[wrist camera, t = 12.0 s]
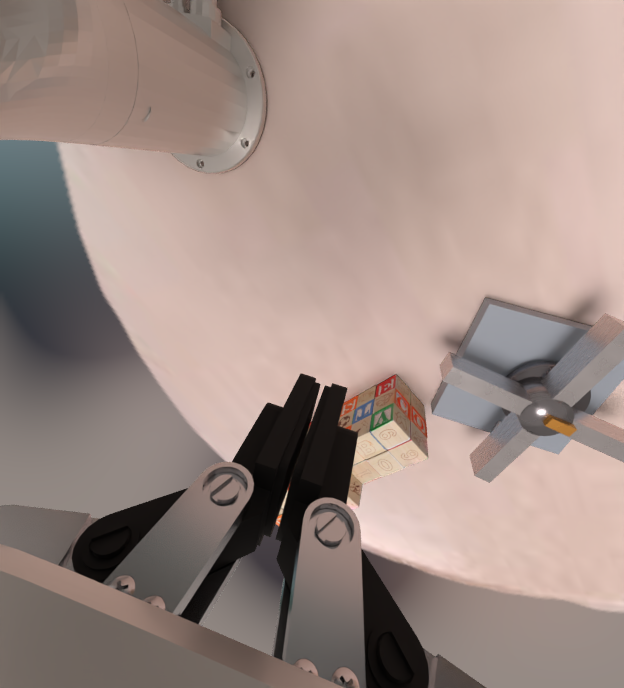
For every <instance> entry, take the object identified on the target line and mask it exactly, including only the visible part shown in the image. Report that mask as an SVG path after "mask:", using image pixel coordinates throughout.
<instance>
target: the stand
mask: <svg viewBox="0 0 624 688" xmlns="http://www.w3.org/2000/svg"><path fill="white" fill-rule="evenodd" d="M592 327H593V326H589V325H585V324H582V323H578V322H574V321H570V320H567V319H563V318H559V317H556V316H552V315H548V314H545V313H541V312H537V311H534V310H530V309H526V308H522V307H519V306H515V305H511V304H508V303H504V302H500V301H497V300H493V299H489V298H485V299H484V301H483V303H482V305H481V307H480V309H479V311H478V313H477V315H476V317H475V319H474V321H473V323H472V325H471V327H470V329H469V331H468V332H467V334H466V336H465V338H464V340H463V342H462V344H461V346H460V348H459V350H458V352H457V354H456V355H457V356H460V357H462V358H464V359H466V360H469V361H471V362H473V363H475V364H478V365H480V366H482V367H484V368H487V369H489V370H491V371H493V372H496V373H498V374H500V375H502V376H505V377H506V376H507V375H508V374H509V373H510V372H512V371H513V370H515V369H516V368H518V367H520V366H522V365H525V364H528V363H531V362H536V361H556V362H559V361H560V360H561V359H562V358H563V357H564V356H565V355H566V354H567V353H568V352H569V351H570V350H571V349H572V348H573V346H574V345H575V344H576V343H577V342H578V341H579V340H580V339H581V338H582V337H583V336H584V335H585V334H586V333H587V332H588V331H589V330H590V329H591V328H592ZM623 379H624V359H623V360H622V361H621V362H620V363H619V364H618V365H617V366H616V367H615V368H613V369H612V370H611V371H610V372H609V373H608V374H607V375H606V376H605V377H604V378H603V379H602V380H600V381H599V382H598V383H597V384H596V385H595V386H594V387H593V388H592V389H591V399H590V403H589V405H588V407H587V409H586V410H585V411H584V412H585V413H588V414H590V415H593V414H594V413H595V411H596V410H597V409H598V408H599V407H600V406H601V405H602V403H603V402H604V401H605V400H606V399H607V398H608V396H609V395H610V394H611V393H612V392H613V391H614V390H615V388H616V387H617V386H618V385H619V384H620V383H621V381H622V380H623ZM431 409H432V414H433V415H437V416H440V417H443V418H446V419H449V420H452V421H455V422H459V423H462V424H465V425H468V426H471V427H474V428H477V429H481V430H484V431H487V432H490V433H491V432H492V431H493V430H494V429H495V428H496V427H497V426H498V425H499V424H500V423H501V422H502V421H503V420H504V419H505V418H506V417H507V416H506V415H505V414H504V412H503V410H502V408H501V407H500V406H497V405H495V404H493V403H491V402H488V401H486V400H484V399H482V398H480V397H477V396H475V395H473V394H471V393H468V392H466V391H464V390H462V389H460V388H457V387H455V386H453V385H451V384H448V383H446V382H444V381H442V383H441V385H440V387H439V389H438V391H437V393H436V395H435V397H434V399H433V401H432V403H431ZM570 440H571V438H569V437H566V436H564V435H562V434H560V433H559V434H556V435H552V436H540V437H539V438H538V439H536V440H535V441H534V442H533V443H532V444H531V446H534V447H537V448H540V449H543V450H547V451H550V452H553V453H556V454H559V453H560V452H561V451H562V450H563V448H564V447H565V446H566V445H567V444H568V443H569V442H570Z"/></svg>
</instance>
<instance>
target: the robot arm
mask: <svg viewBox="0 0 624 688" xmlns="http://www.w3.org/2000/svg"><path fill="white" fill-rule="evenodd" d="M221 16H222V12H221V11H220V9H218V8H217V0H190V10H187V9H186V0H170V3H166V2H164V1H163V0H0V140H37V141H52V142H64V143H75V144H86V145H98V146H108V147H118V148H128V149H139V150H149V151H159V152H169V153H171V154H172V155H173V156H174V157H175V158H176V159H177V160H178V161H180V162H181V163H183V164H184V165H185V166H187V167H189V168H191V169H193V170H196V171H198V172H204V173H215V174H217V173H223V172H228V171H230V170H233V169H235V168H237V167H238V166H240V165H241V164H242V163H244V162H245V161H246V160H247V159H248V157H249V156H250V155H251V154H252V153H253V151H254V149H255V148H256V146H257V144H258V142H259V140H260V137H261V134H262V131H263V128H264V123H265V117H266V90H265V82H264V79H263V75H262V71H261V67H260V65H259V63H258V60H257V58H256V56H255V53H254V51H253V50H252V48H251V47H250V45H249V44H248V42H247V40H246V39H245V38H244V37H243V36H242V35H241V34H240V32H239V31H238V30H237V29H236V28H235V27H233V26H232V25H231V24H230V23H229V22H227V21H226V20H225V19H223V18H221ZM253 72H255V75H254V77H252V73H253ZM247 141H249V145H248V146H247V145H246V143H247ZM203 162H204V165H203ZM315 381H316V378H314V377H311V376H308V375H305V374H300V376H299V378H298V380H297V382H296V384H295V386H294V388H293V389H292V391H291V393H290V395H289V397H288V399H287V401H286V403H285V405H284V407H280V406H277V405H274V404H271V403H267V404H266V405H265V407H264V409H263V410H262V412H261V414H260V415H259V417H258V419H257V420H256V422H255V424H254V425H253V427H252V429H251V430H250V432H249V434H248V436H247V437H246V439H245V441H244V442H243V444H242V446H241V447H240V449H239V451H238V452H237V454H236V456H235V457H234V459H233V461H232V462H222V463H217V464H214V465H212V466H210V467H208V468H207V469H206V470H205V471H204V472H202V473H201V475H200V476H199V477H198V478H197V479H196V480H195V481H194V482H193V483H192V485H191V486H190V487H189V488H187V489H184V490H181V491H178V492H175V493H172V494H169V495H166V496H163V497H160V498H157V499H154V500H151V501H148V502H145V503H142V504H139V505H137V506H133V507H130V508H127V509H124V510H121V511H118V512H115V513H113V514H110V515H107V516H105V517H103V518H101V519H98V518H91V514H88V513H78V512H70V511H62V510H52V509H45V508H36V507H27V506H19V505H4V506H0V688H486V687H484V686H483V685H482V684H480V683H479V682H477V681H476V680H475V679H473V678H472V677H470V676H469V675H467V674H466V673H465V672H463V671H462V670H460V669H459V668H458V667H456V666H455V665H453V664H452V663H450V662H449V661H448V660H446V659H445V658H443V657H442V656H441V655H439V654H438V655H437V656H433V655H432V654H431V653H429V652H428V651H426V650H425V649H424V648H422V646H421V644H420V642H419V640H418V638H417V636H416V635H415V633H414V631H413V630H412V628H411V627H410V625H409V623H408V622H407V620H406V619H405V617H404V615H403V614H402V612H401V611H400V609H399V607H398V606H397V604H396V603H395V601H394V600H393V598H392V596H391V595H390V593H389V592H388V590H387V589H386V587H385V585H384V584H383V582H382V581H381V579H380V577H379V576H378V574H377V573H376V571H375V569H374V568H373V566H372V565H371V563H370V562H369V560H368V558H367V557H366V555H365V553H364V552H363V550H362V549H361V530H360V525H359V521H358V519H357V517H356V515H355V513H354V512H353V511H352V510H351V508H350V507H349V506H348V505H346V504H347V498H348V492H349V486H350V480H351V474H352V469H353V463H354V457H355V451H356V445H357V439H358V432H355V431H352V430H349V429H346V428H343V427H340V426H338V423H339V419H340V415H341V411H342V407H343V403H344V399H345V396H346V392H347V388H346V387H342V386H339V385H336V384H333V383H332V386H331V387H328V386H325V387H324V390H323V393H322V395H321V398H320V401H319V404H318V406H317V409H316V412H315V414H314V417H313V420H312V423H311V425H310V422H311V418H312V414H313V411H314V407H315V403H316V399H317V396H318V392H319V388H320V384H319V383H316V382H315ZM309 425H310V428H309ZM308 429H309V431H308ZM289 485H290V486H289ZM288 488H289V490H288ZM287 490H288V494H287V498H286V501H285V505H284V509H283V513H282V517H281V521H280V525H279V529H278V533H277V536H276V539H277V540H279V541H282V542H281V545H280V549H279V553H278V556H277V561H278V564H279V566H280V569H281V571H282V573H283V576H284V580H283V586H282V592H281V599H280V605H279V612H278V618H277V625H276V631H275V638H274V644H273V650H272V656H270V655H268V654H266V653H263V652H261V651H258V650H256V649H254V648H252V647H249V646H247V645H244V644H242V643H240V642H238V641H235V640H233V639H231V638H228V637H226V636H224V635H221V634H219V633H217V632H214V631H212V630H210V629H207V628H205V627H203V624H204V622H205V621H206V619H207V617H208V615H209V614H210V612H211V610H212V609H213V607H214V605H215V604H216V602H217V600H218V598H219V597H220V595H221V593H222V592H223V590H224V588H225V587H226V585H227V583H228V581H229V580H230V578H231V576H232V575H233V573H234V571H235V569H236V568H237V566H238V564H239V562H240V560H241V557H243V556H245V555H248V554H249V553H252V552H254V551H255V549H256V547H257V545H259V546H260V544H261V541H262V539H263V536H264V535H266V536H269V537H270V536H271V534H272V532H273V529H274V526H275V523H276V521H277V518H278V515H279V512H280V510H281V507H282V504H283V501H284V499H285V496H286V493H287Z"/></svg>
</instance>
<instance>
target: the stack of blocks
mask: <svg viewBox="0 0 624 688" xmlns="http://www.w3.org/2000/svg"><path fill="white" fill-rule="evenodd" d="M311 423H312V422H310V425H311ZM310 425H309V428H310ZM338 426H340V427H343V428H346V429H349V430H352V431H355V432H358V439H357V445H356V451H355V457H354V463H353V469H352V474H351V480H350V486H349V492H348V498H347V504H346V505H348V506H349V507H350V508H351V510H353V509H356V508H359V504H360V498H361V491H362V485H363V484H366V483H368V482H371V481H373V480H376V479H378V478H381V477H385V476H387V475H390V474H392V473H395V472H397V471H400V470H402V469H404V468H405V467H408V466H411V465H413V464H416V463H419V462H421V461H423V460H426V459H428V447H427V427H426V419H425V409H424V406H423V405H422V403H421V402H420V401H419V400H418V399H417V398H416V397H415V395H414V394H413V393H412V392H411V391H410V389H409V388H408V387H407V386H406V385H405V383H404V382H403V381H402V380H401V379H400V378H399V377H398V376H397V375H394V376H392V377H390V378H389V379H387V380H385V381H384V382H382V383H380V384H378V385H377V386H373V387H372V388H370V389H368V390H366V391H365V392H363V393H361V394H360V395H358V396H356V397H354V398H352V399H350V400H348V401H347V402H345V403H343V407H342V411H341V415H340V419H339V423H338ZM308 431H309V429H308ZM289 486H290V485H289ZM288 490H289V488H288ZM288 490H287V493H286V496H285V499H284V501H283V504H282V507H281V510H280V512H279V515H278V518H277V521H276V524H277V525H278V526H279V525H280V521H281V517H282V513H283V509H284V505H285V501H286V498H287V494H288Z"/></svg>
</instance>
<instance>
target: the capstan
mask: <svg viewBox="0 0 624 688" xmlns="http://www.w3.org/2000/svg"><path fill="white" fill-rule="evenodd" d="M623 359H624V321H622V320H619V319H617V318H615V317H612V316H610V315H608V314H604V315H603V316H602V317H601V318H600V319H599V320H598V321H597V322H596V323H595V324H594V326H593V327H592V328H591V329H590V330H589V331H588V332H587V333H586V334H585V335H584V336H583V337H582V338H581V339H580V340H579V341H578V342H577V343H576V344H575V345H574V346H573V348H572V349H571V350H570V351H569V352H568V353H567V354H566V355H565V356H564V357H563V358H562V359H561V360H560V361H559V362H556V361H536V362H531V363H528V364H525V365H522V366H520V367H518V368H516V369H515V370H513V371H512V372H510V373H509V374H508V375H507V376H506V377H505V376H502V375H500V374H498V373H496V372H493V371H491V370H489V369H487V368H484V367H482V366H480V365H478V364H475V363H473V362H471V361H469V360H466V359H464V358H462V357H460V356H457V355H455V354H453V353H451V352H449V353H448V354H447V356H446V357H445V358H444V360H443V361H442V363H441V364H440V369H441V374H442V380H443V381H444V382H446V383H448V384H451V385H453V386H455V387H457V388H460V389H462V390H464V391H466V392H468V393H471V394H473V395H475V396H477V397H480V398H482V399H484V400H486V401H488V402H491V403H493V404H495V405H497V406H500V407H501V408H502V410H503V412H504V414H505V415H506V416H507V417H506V418H505V419H504V420H503V421H502V422H501V423H500V424H499V425H498V426H497V427H496V428H495V429H494V430H493V431H492V432H491V433H490V434H489V436H488V437H487V438H486V439H485V440H484V441H483V442H482V443H481V444H480V445H479V446H478V447H477V448H476V449H475V450H474V451H473V452H472V453H471V454H470V459H471V463H472V468H473V472H474V476H476V477H478V478H480V479H483V480H485V481H487V482H489V483H490V482H491V481H492V480H493V479H494V478H495V477H496V476H497V475H499V474H500V473H501V472H502V471H503V470H504V469H505V468H506V467H507V466H508V465H509V464H510V463H512V462H513V461H514V460H515V459H516V458H517V457H518V456H519V455H520V454H521V453H522V452H523V451H525V450H526V449H527V448H528V447H529V446H530V445H531V444H532V443H533V442H534V441H535V440H536V439H538V438H539V437H540V436H552V435H556V434H559V433H560V434H562V435H564V436H566V437H569V438H571V439H573V440H575V441H578V442H580V443H582V444H584V445H586V446H589V447H591V448H593V449H595V450H598V451H600V452H602V453H604V454H606V455H609V456H611V457H613V458H615V459H618V460H620V461H622V462H624V429H621V428H619V427H617V426H615V425H612V424H610V423H608V422H606V421H603V420H601V419H599V418H597V417H594V416H592V415H590V414H588V413H585V412H584V411H585V410H586V409H587V407H588V405H589V403H590V399H591V389H592V388H593V387H594V386H595V385H596V384H597V383H598V382H599V381H600V380H602V379H603V378H604V377H605V376H606V375H607V374H608V373H609V372H610V371H611V370H612V369H613V368H615V367H616V366H617V365H618V364H619V363H620V362H621V361H622V360H623Z"/></svg>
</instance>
